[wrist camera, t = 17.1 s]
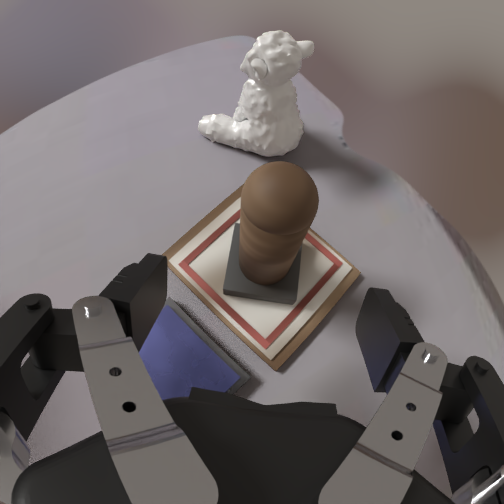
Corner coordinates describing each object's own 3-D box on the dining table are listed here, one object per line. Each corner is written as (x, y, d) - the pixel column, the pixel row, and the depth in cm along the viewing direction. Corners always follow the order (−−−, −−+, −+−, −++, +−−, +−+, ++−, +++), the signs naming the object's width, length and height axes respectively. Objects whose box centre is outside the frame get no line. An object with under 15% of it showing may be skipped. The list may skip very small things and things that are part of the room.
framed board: (161, 259, 24) (158, 255, 23) (249, 182, 27) (250, 176, 26) (274, 371, 21) (276, 371, 20) (358, 274, 24) (362, 271, 23)
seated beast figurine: (263, 93, 32) (274, -1, 21) (324, 136, 30) (356, 38, 19) (195, 133, 29) (183, 28, 18) (257, 186, 27) (270, 73, 16)
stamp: (223, 294, 22) (213, 221, 12) (235, 231, 24) (236, 127, 14) (292, 304, 22) (342, 241, 12) (299, 241, 24) (342, 145, 14)
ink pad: (99, 369, 20) (90, 368, 19) (172, 299, 23) (167, 294, 21) (172, 449, 19) (168, 454, 17) (250, 376, 21) (251, 377, 20)
